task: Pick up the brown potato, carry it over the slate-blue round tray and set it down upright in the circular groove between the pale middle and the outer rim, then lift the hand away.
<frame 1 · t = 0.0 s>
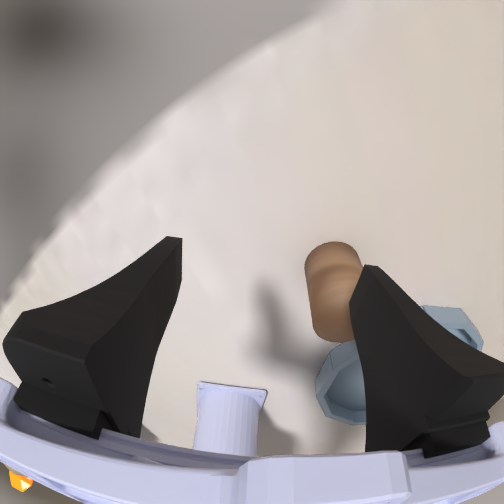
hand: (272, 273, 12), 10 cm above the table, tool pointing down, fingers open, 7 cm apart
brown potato: (332, 265, 24), on the table
orange juice: (28, 454, 88), on the table
round tray: (400, 369, 32), on the table
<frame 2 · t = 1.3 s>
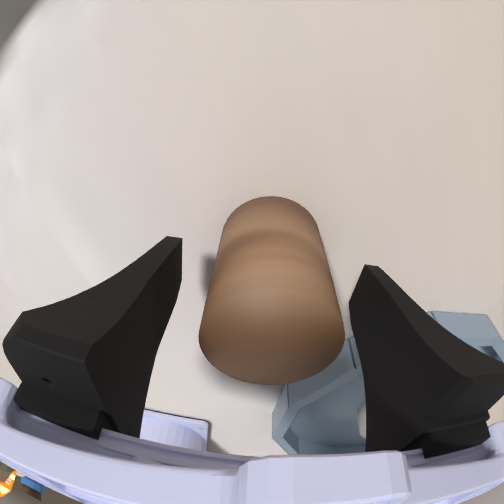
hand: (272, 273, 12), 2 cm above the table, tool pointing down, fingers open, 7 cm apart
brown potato: (270, 241, 14), on the table
orange juice: (8, 458, 78), on the table
green round pot: (2, 431, 45), on the table
perfume bottle: (53, 425, 32), on the table
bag: (1, 445, 61), on the table
round tray: (396, 399, 22), on the table
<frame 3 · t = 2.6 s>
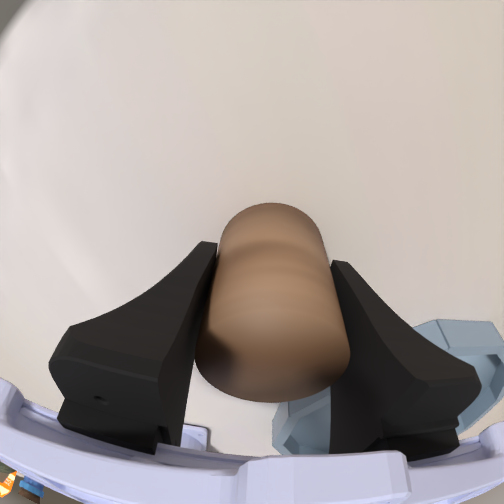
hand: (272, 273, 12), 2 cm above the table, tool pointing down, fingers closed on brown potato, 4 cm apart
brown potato: (271, 250, 13), on the table, touching gripper
orange juice: (8, 459, 77), on the table
green round pot: (1, 433, 45), on the table
perfume bottle: (52, 429, 31), on the table
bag: (0, 445, 60), on the table
round tray: (398, 406, 21), on the table
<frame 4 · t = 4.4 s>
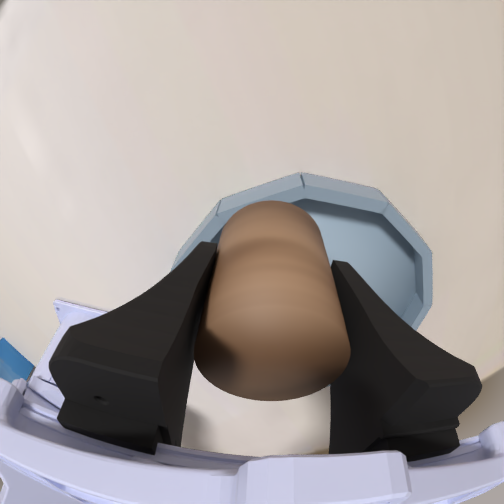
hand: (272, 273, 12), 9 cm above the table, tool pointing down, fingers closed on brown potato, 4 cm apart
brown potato: (271, 247, 13), point 7 cm above the table, touching gripper
perfume bottle: (13, 355, 34), on the table
round tray: (304, 299, 24), on the table
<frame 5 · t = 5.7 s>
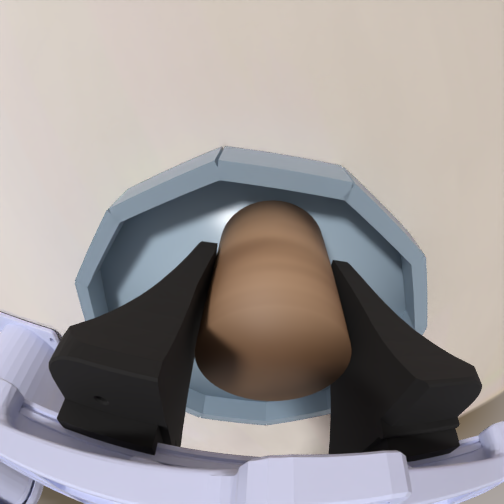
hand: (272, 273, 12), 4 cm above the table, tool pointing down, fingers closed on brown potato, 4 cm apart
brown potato: (271, 247, 13), point 2 cm above the table, touching gripper
round tray: (252, 319, 19), on the table
when the fingers open (3 cm above the table, at t = 6.7 s): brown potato drops 1 cm, resting on round tray.
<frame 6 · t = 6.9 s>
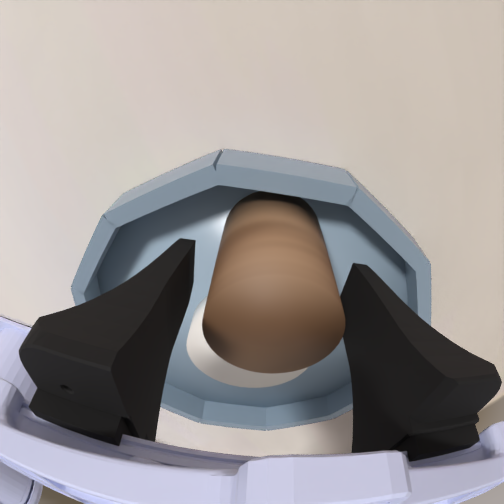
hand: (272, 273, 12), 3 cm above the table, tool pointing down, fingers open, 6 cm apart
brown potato: (272, 234, 14), resting on round tray
round tray: (252, 325, 18), on the table
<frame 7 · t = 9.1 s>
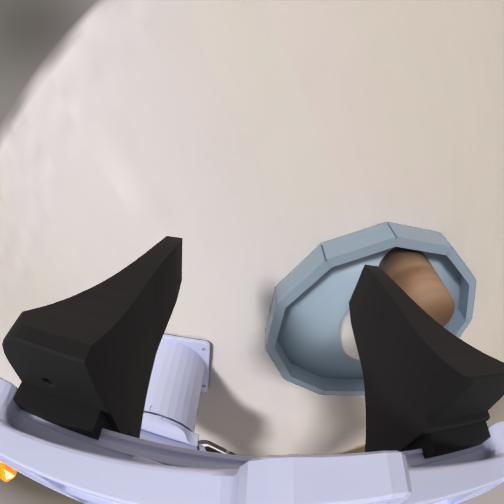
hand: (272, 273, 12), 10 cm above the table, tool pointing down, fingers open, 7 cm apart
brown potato: (402, 267, 24), resting on round tray
orange juice: (13, 444, 85), on the table
cell phone: (217, 452, 49), on the table
round tray: (374, 319, 28), on the table
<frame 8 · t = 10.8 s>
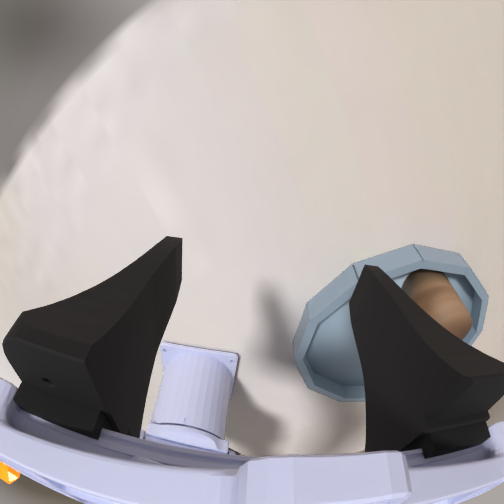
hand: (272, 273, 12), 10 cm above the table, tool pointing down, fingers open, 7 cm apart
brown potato: (423, 284, 25), resting on round tray
orange juice: (16, 446, 85), on the table
round tray: (393, 331, 28), on the table
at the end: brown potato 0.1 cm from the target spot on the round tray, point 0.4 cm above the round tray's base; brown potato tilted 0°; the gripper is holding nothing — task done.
